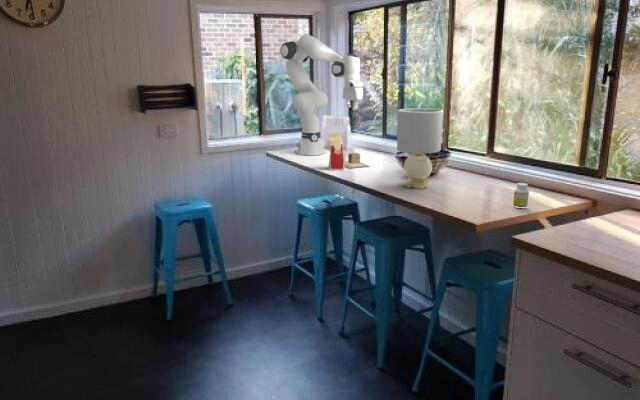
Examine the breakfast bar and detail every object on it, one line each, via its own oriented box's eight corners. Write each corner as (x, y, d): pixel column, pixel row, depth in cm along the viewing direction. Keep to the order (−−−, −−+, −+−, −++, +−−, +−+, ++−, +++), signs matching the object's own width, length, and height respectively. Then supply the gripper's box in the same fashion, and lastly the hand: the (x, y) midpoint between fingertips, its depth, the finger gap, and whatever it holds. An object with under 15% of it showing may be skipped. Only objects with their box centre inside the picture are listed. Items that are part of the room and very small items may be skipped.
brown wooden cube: (348, 161, 294) (348, 153, 292) (356, 161, 295) (356, 152, 294) (352, 163, 289) (352, 154, 288) (359, 162, 291) (359, 154, 290)
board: (338, 163, 293) (338, 162, 293) (357, 162, 297) (357, 160, 297) (349, 168, 279) (349, 167, 279) (369, 167, 283) (369, 165, 283)
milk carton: (345, 167, 283) (345, 131, 278) (344, 170, 274) (344, 133, 269) (329, 167, 284) (328, 131, 279) (327, 170, 275) (327, 133, 270)
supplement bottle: (524, 210, 198) (526, 186, 196) (510, 207, 202) (513, 184, 199) (529, 207, 202) (531, 183, 200) (515, 204, 206) (517, 181, 203)
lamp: (393, 180, 249) (395, 108, 240) (434, 180, 248) (438, 108, 239) (398, 190, 230) (400, 112, 221) (442, 190, 229) (447, 112, 220)
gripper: (340, 83, 298) (340, 106, 302) (354, 84, 280) (354, 109, 283) (349, 82, 300) (349, 106, 304) (365, 84, 282) (364, 109, 285)
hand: (352, 108), depth 293 cm, fingers open, 8 cm apart
